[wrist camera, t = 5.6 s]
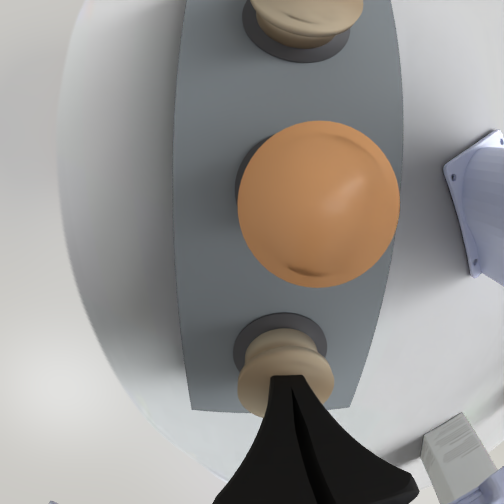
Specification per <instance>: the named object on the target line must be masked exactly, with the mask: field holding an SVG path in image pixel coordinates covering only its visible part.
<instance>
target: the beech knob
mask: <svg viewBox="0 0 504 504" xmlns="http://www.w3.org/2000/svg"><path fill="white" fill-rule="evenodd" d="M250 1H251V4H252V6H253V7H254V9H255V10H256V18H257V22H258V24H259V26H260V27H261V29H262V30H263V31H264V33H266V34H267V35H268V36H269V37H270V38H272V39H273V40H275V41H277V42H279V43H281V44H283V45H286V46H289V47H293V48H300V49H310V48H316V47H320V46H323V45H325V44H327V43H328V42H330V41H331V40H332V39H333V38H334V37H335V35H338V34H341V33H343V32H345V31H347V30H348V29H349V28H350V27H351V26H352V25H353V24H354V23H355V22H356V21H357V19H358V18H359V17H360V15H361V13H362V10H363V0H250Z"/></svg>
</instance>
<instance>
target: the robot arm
mask: <svg viewBox="0 0 504 504" xmlns="http://www.w3.org/2000/svg"><path fill="white" fill-rule="evenodd" d="M443 171H444V175H445V178H446V181H447V184H448V186H449V189H450V192H451V196H452V199H453V202H454V205H455V209H456V212H457V216H458V219H459V223H460V227H461V231H462V235H463V239H464V243H465V248H466V253H467V258H468V263H469V268H470V274H471V276H472V277H473V278H477V277H478V276H479V275H480V274H481V273H483V274H485V275H486V276H488V277H490V278H491V279H493V280H494V281H496V282H498V283H499V284H501V285H502V286H504V138H503V135H502V133H501V131H500V130H494V131H493V132H491V133H490V134H489V135H487V136H486V137H484V138H483V139H481V140H480V141H478V142H477V143H476V144H474V145H473V146H471V147H470V148H468V149H467V150H465V151H464V152H462V153H461V154H460V155H458V156H457V157H455V158H454V159H452V160H451V161H449V162H448V163H446V164H445V165H444V168H443ZM452 175H453V180H452V179H451V176H452ZM418 494H419V489H418V487H417V484H416V482H415V480H414V478H413V477H412V475H411V473H408V472H406V471H404V470H402V469H400V468H397V467H395V466H393V465H391V464H389V463H388V462H386V461H384V460H383V459H381V458H379V457H378V456H376V455H375V454H373V453H372V452H371V451H369V450H368V449H366V448H365V447H364V446H362V445H361V444H360V443H359V442H357V441H356V440H355V439H354V438H353V437H352V436H351V435H349V434H348V433H347V432H346V431H345V430H344V429H343V428H342V427H341V426H340V425H339V424H338V422H337V421H336V420H335V419H334V418H333V417H332V416H331V414H330V413H329V412H328V411H327V410H326V408H325V407H324V406H323V404H322V403H321V402H320V400H319V399H318V398H317V396H316V395H315V393H314V392H313V390H312V389H311V387H310V386H309V384H308V382H307V381H306V379H305V377H304V376H303V375H273V376H272V377H270V385H269V395H268V404H267V408H266V412H265V415H264V418H263V421H262V423H261V426H260V429H259V431H258V433H257V436H256V438H255V440H254V442H253V444H252V446H251V448H250V450H249V451H248V453H247V455H246V457H245V459H244V460H243V462H242V463H241V465H240V466H239V468H238V469H237V471H236V472H235V474H234V475H233V477H232V478H231V479H230V481H229V482H228V483H227V485H226V486H225V487H224V488H223V489H222V490H221V492H220V493H219V494H218V495H217V496H216V498H215V500H214V502H213V504H409V503H410V502H411V501H412V500H414V499H415V498H416V497H417V495H418ZM49 504H57V503H55V502H53V501H50V502H49ZM448 504H504V466H503V467H502V468H500V469H499V470H498V471H496V472H495V473H493V474H492V475H490V476H489V477H488V478H487V479H485V480H484V481H483V482H482V483H481V484H480V485H479V486H478V487H476V488H475V489H473V490H471V491H470V492H468V493H466V494H465V495H463V496H461V497H459V498H458V499H456V500H454V501H452V502H450V503H448Z"/></svg>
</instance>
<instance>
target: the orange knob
mask: <svg viewBox="0 0 504 504" xmlns="http://www.w3.org/2000/svg"><path fill="white" fill-rule="evenodd" d="M237 204H238V218H239V223H240V228H241V231H242V234H243V237H244V239H245V241H246V243H247V245H248V247H249V249H250V250H251V252H252V253H253V255H254V256H255V258H256V259H257V260H258V261H259V262H260V263H261V265H263V266H264V267H265V268H266V269H267V270H268V271H269V272H271V273H272V274H274V275H275V276H277V277H278V278H280V279H283V280H285V281H287V282H289V283H292V284H295V285H299V286H304V287H311V288H324V287H331V286H337V285H340V284H343V283H346V282H348V281H351V280H353V279H355V278H357V277H358V276H360V275H362V274H363V273H365V272H366V271H367V270H368V269H370V268H371V267H372V266H373V265H374V264H375V263H376V262H377V261H378V260H379V259H380V258H381V256H382V255H383V254H384V252H385V251H386V249H387V248H388V246H389V244H390V242H391V240H392V238H393V236H394V233H395V230H396V227H397V224H398V218H399V212H400V195H399V188H398V183H397V179H396V176H395V173H394V171H393V169H392V166H391V164H390V162H389V161H388V159H387V158H386V156H385V154H384V153H383V152H382V151H381V149H380V148H379V147H378V146H377V145H376V144H375V143H374V142H373V141H372V140H371V139H370V138H368V137H367V136H366V135H364V134H363V133H361V132H360V131H358V130H356V129H354V128H352V127H349V126H347V125H344V124H341V123H336V122H331V121H307V122H303V123H299V124H295V125H293V126H290V127H287V128H285V129H283V130H282V131H280V132H278V133H276V134H275V135H273V136H272V137H271V138H269V139H268V140H267V141H266V142H265V143H264V144H263V145H262V146H261V147H260V148H259V149H258V150H257V151H256V153H255V154H254V155H253V157H252V158H251V160H250V162H249V163H248V165H247V167H246V169H245V171H244V174H243V177H242V179H241V183H240V188H239V192H238V203H237Z"/></svg>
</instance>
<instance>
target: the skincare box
mask: <svg viewBox="0 0 504 504" xmlns="http://www.w3.org/2000/svg"><path fill="white" fill-rule="evenodd" d="M420 458H421V460H422V462H423V464H424V466H425V469H426V471H427V473H428V476H429V478H430V480H431V483H432V485H433V487H434V489H435V492H436V495H437V497H438V500H439V502H440V504H448V503H450V502H452V501H454V500H456V499H458V498H459V497H461V496H463V495H465V494H466V493H468V492H470V491H471V490H473V489H475V488H476V487H478V486H479V485H480V484H481V483H482V482H483V481H484V480H485V479H487V478H488V477H489V476H490V475H492V474H493V473H495V472H496V471H498V469H497V468H496V466H495V464H494V462H493V461H492V459H491V457H490V456H489V454H488V452H487V450H486V449H485V447H484V445H483V444H482V442H481V440H480V439H479V437H478V435H477V434H476V432H475V431H474V429H473V428H472V426H471V424H470V423H469V421H468V420H467V418H466V417H465V415H464V414H463V413H460V414H458V415H457V416H455V417H454V418H452V419H451V420H449V421H447V422H446V423H444V424H442V425H441V426H439V427H437V428H435V429H434V430H432V431H430V432H428V433H426V434H425V435H424V438H423V444H422V450H421V456H420Z"/></svg>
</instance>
